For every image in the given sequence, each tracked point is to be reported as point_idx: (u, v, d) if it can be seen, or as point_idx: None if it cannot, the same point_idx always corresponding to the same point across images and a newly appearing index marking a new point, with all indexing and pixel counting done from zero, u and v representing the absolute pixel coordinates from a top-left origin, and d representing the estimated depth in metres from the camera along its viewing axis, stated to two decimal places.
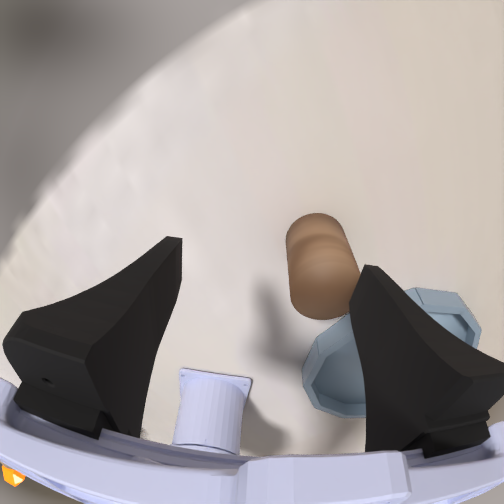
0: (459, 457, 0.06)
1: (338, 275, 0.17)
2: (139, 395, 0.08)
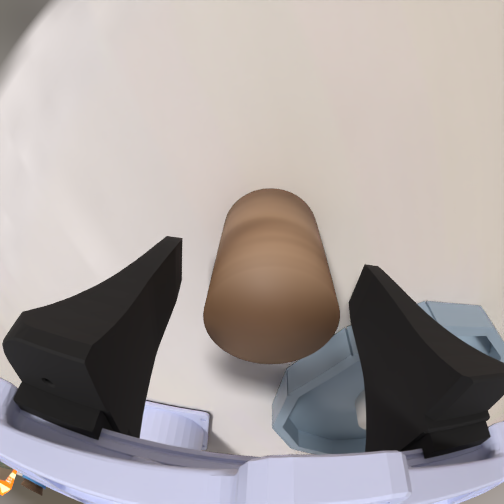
0: (459, 457, 0.06)
1: (288, 293, 0.09)
2: (139, 395, 0.08)
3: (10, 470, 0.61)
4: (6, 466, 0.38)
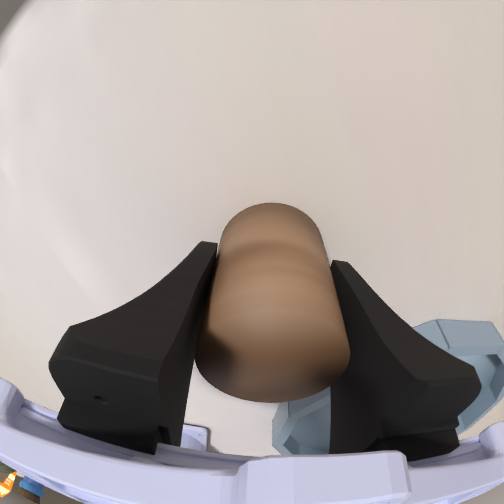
0: (459, 457, 0.06)
1: (292, 335, 0.08)
2: (183, 404, 0.08)
3: None
4: (4, 470, 0.37)
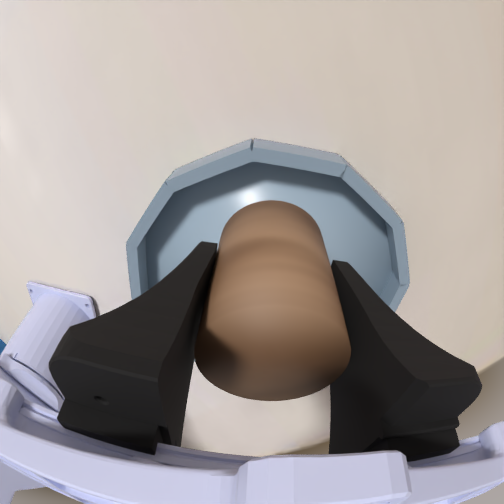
0: (459, 457, 0.06)
1: (291, 332, 0.08)
2: (183, 404, 0.08)
3: None
4: None
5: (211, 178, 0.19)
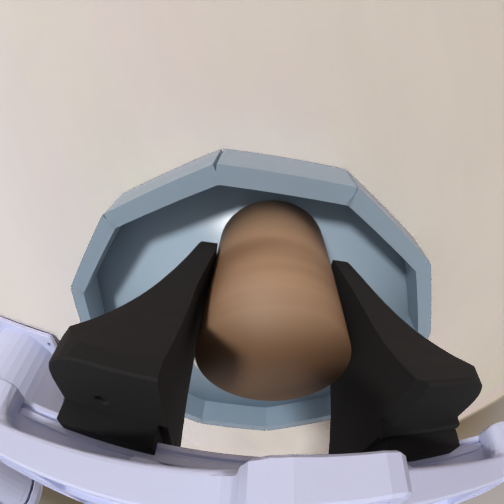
0: (459, 457, 0.06)
1: (291, 332, 0.08)
2: (183, 404, 0.08)
3: None
4: None
5: (168, 205, 0.14)
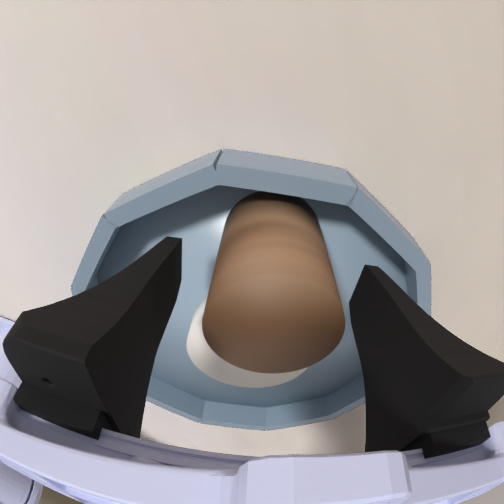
0: (459, 457, 0.06)
1: (290, 301, 0.09)
2: (139, 395, 0.08)
3: None
4: None
5: (168, 205, 0.14)
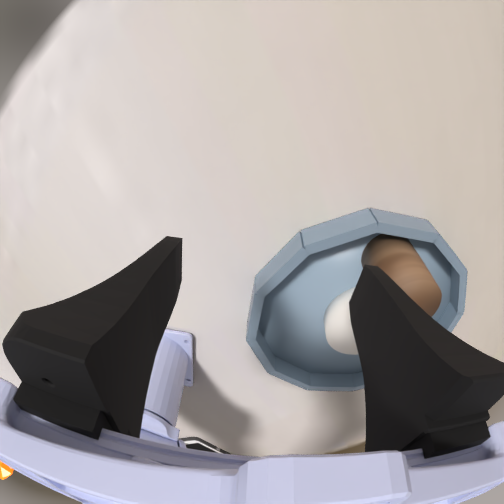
0: (459, 457, 0.06)
1: (423, 291, 0.17)
2: (139, 395, 0.08)
3: None
4: None
5: None
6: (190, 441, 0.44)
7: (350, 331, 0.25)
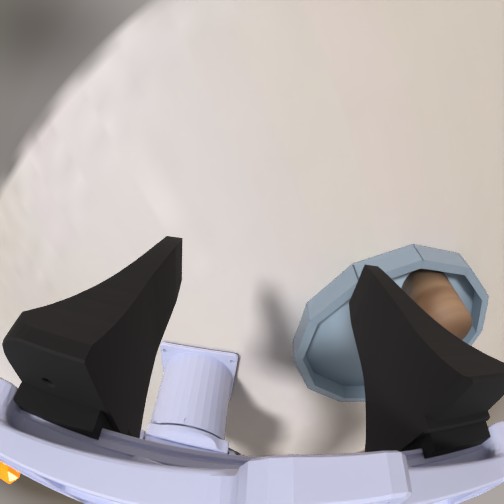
0: (459, 457, 0.06)
1: (459, 320, 0.19)
2: (139, 395, 0.08)
3: None
4: None
5: None
6: None
7: None
